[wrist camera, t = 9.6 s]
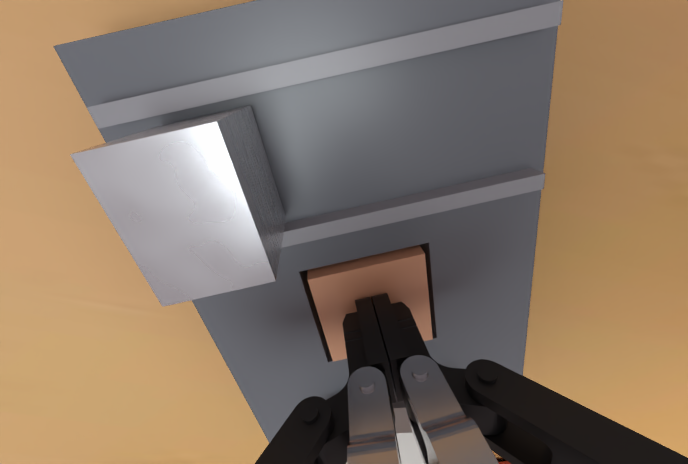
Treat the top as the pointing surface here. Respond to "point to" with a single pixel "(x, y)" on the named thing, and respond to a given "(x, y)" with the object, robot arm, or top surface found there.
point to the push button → (370, 290)
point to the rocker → (406, 439)
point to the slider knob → (192, 203)
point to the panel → (358, 160)
